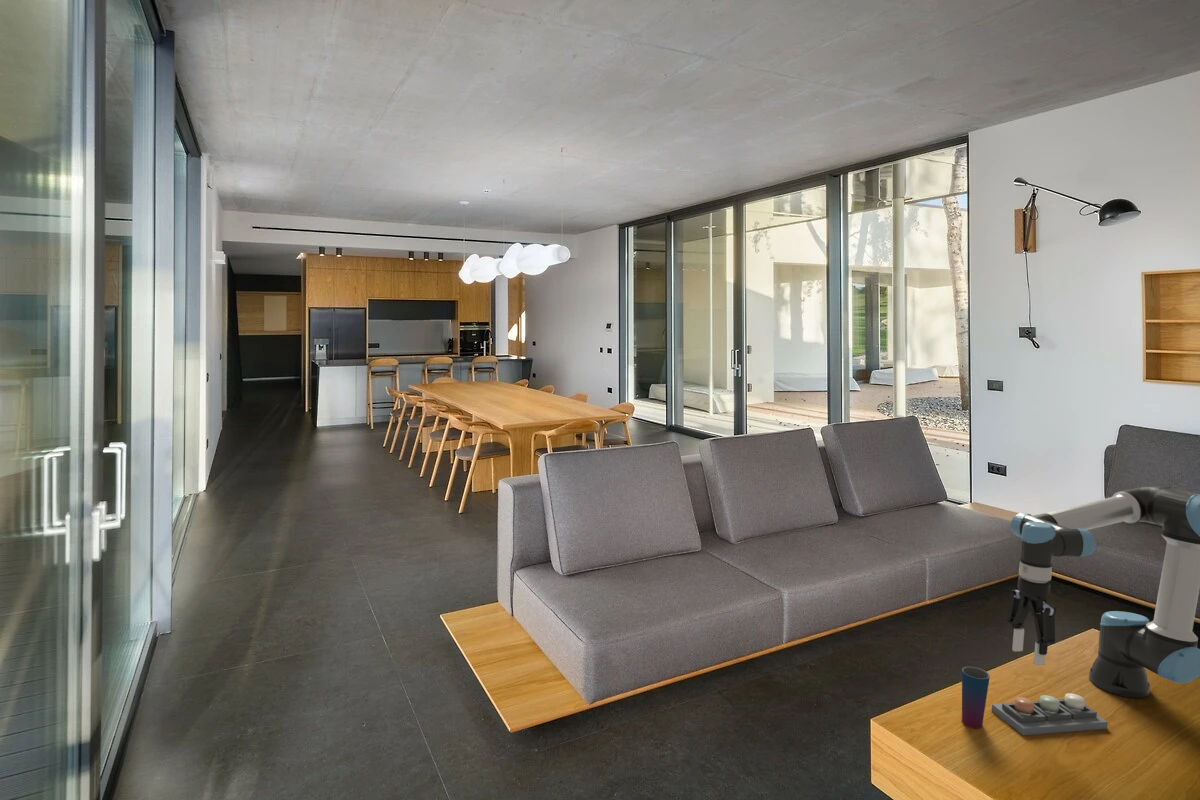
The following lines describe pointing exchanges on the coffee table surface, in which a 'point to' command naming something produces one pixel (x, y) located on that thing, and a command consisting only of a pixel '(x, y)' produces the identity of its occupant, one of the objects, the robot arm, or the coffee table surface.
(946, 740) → the coffee table surface
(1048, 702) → the button sage
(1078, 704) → the button cream
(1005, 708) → the panel
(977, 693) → the cup
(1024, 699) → the button rust
